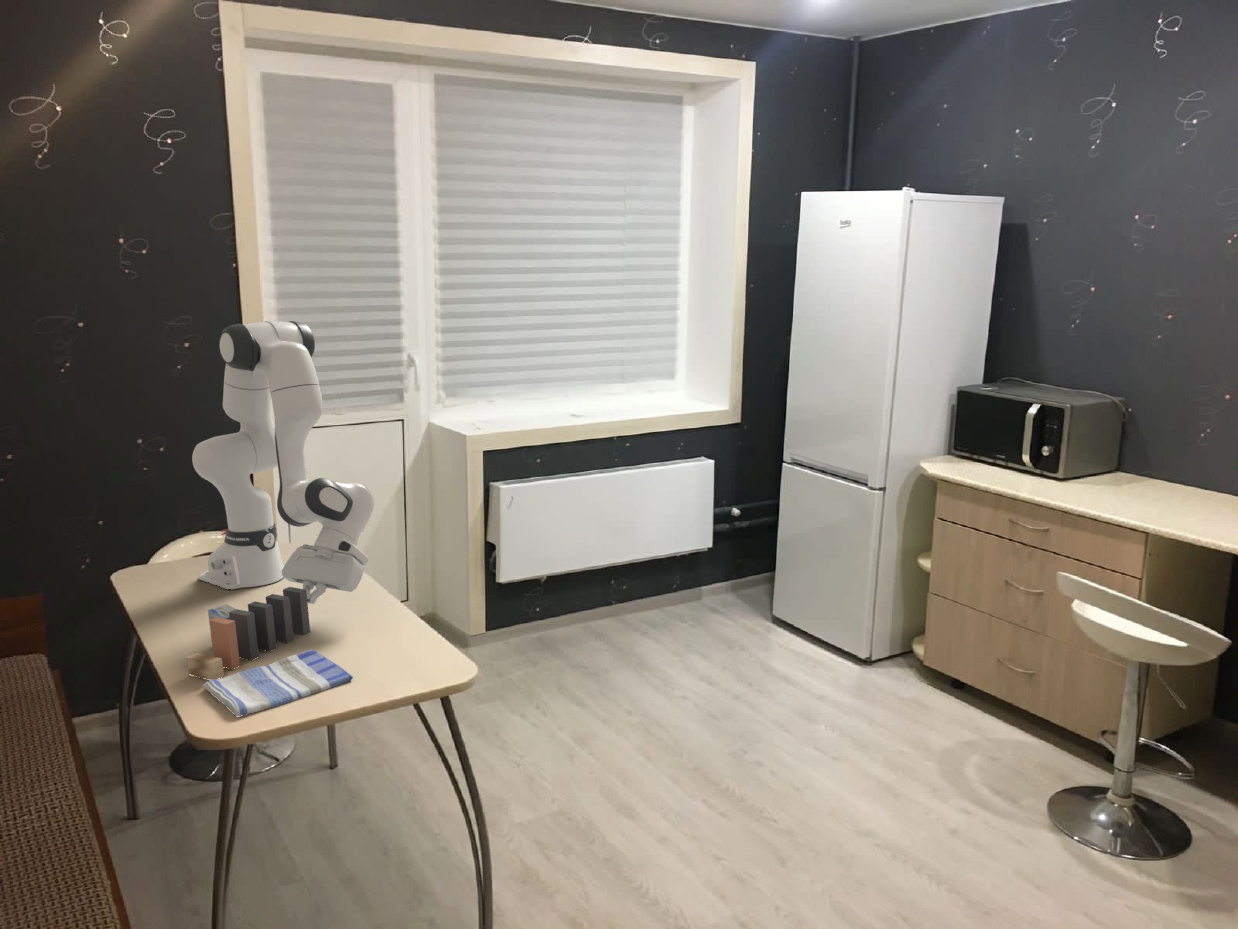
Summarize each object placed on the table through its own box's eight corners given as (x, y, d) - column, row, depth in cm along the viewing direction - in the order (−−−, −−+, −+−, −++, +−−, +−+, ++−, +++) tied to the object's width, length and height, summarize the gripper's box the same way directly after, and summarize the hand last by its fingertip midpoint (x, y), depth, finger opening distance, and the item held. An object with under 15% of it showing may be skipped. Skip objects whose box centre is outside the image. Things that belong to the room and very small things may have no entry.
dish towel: (202, 692, 188) (200, 679, 187) (317, 657, 203) (316, 645, 202) (234, 723, 175) (232, 709, 175) (354, 684, 190) (353, 670, 190)
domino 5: (286, 631, 216) (282, 589, 214) (293, 628, 218) (289, 586, 216) (303, 635, 214) (299, 592, 212) (310, 632, 216) (306, 589, 213)
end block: (189, 675, 194) (186, 657, 193) (199, 671, 196) (197, 652, 195) (213, 682, 191) (211, 663, 190) (223, 677, 193) (221, 658, 192)
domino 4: (270, 639, 212) (265, 596, 210) (276, 636, 213) (272, 593, 211) (287, 643, 210) (282, 600, 207) (293, 640, 211) (289, 597, 209)
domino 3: (252, 648, 207) (247, 604, 205) (259, 644, 209) (254, 601, 207) (269, 652, 205) (264, 607, 203) (276, 648, 207) (272, 604, 205)
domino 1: (214, 666, 199) (209, 620, 196) (222, 662, 200) (217, 617, 198) (232, 670, 196) (227, 624, 194) (240, 666, 198) (234, 620, 196)
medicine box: (248, 650, 206) (244, 612, 205) (228, 656, 203) (223, 618, 201) (231, 640, 212) (227, 603, 210) (211, 646, 209) (207, 609, 207)
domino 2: (234, 657, 203) (229, 612, 201) (241, 653, 205) (236, 609, 203) (251, 661, 201) (246, 615, 199) (258, 657, 203) (253, 612, 200)
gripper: (292, 537, 226) (264, 589, 219) (360, 547, 217) (333, 602, 211) (307, 550, 231) (281, 601, 224) (374, 560, 222) (349, 614, 215)
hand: (306, 602), depth 217 cm, fingers closed
